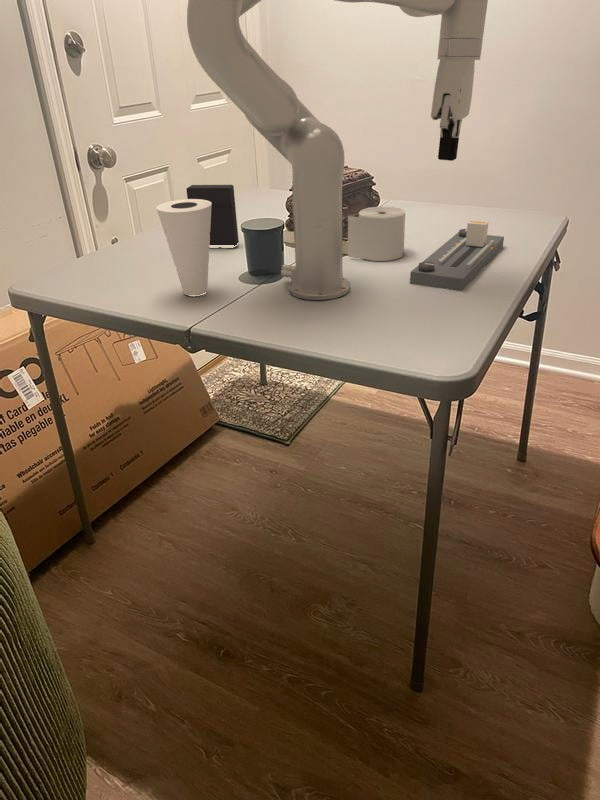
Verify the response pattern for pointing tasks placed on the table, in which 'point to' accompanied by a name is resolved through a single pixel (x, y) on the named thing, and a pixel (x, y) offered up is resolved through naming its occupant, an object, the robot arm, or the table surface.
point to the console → (455, 262)
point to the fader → (476, 233)
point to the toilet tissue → (377, 234)
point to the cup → (188, 240)
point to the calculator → (219, 211)
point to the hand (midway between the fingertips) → (446, 159)
